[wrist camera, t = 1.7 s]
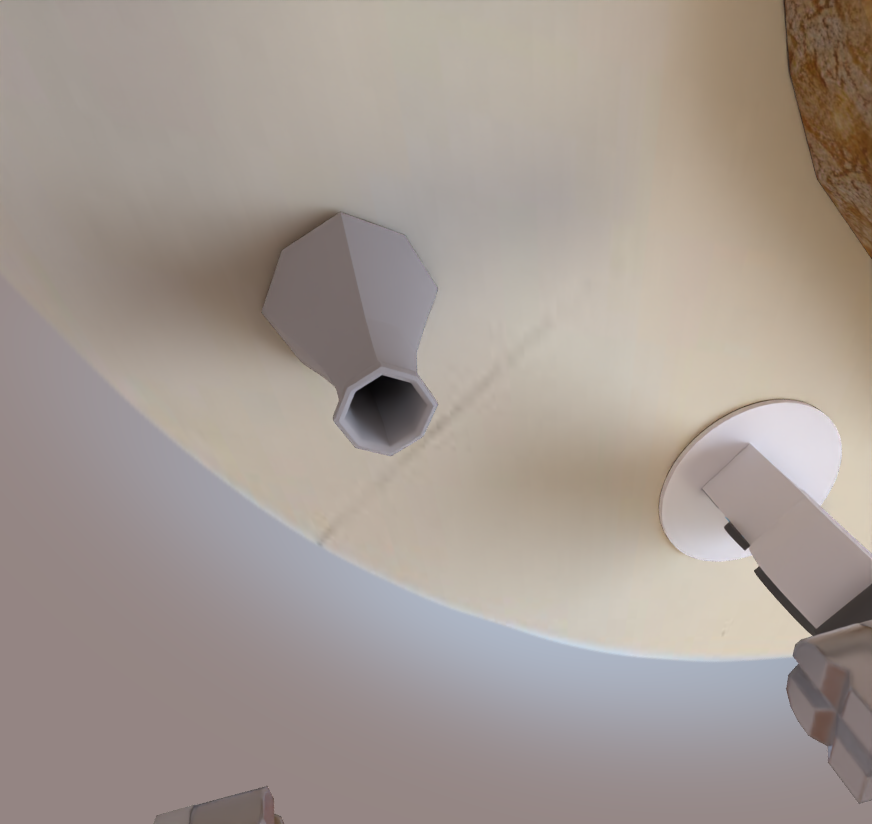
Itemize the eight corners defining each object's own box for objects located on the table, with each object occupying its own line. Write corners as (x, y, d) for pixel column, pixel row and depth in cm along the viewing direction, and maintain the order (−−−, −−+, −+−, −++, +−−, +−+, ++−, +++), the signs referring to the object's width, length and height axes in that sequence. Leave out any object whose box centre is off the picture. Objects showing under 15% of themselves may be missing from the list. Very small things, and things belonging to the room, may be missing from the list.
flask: (363, 398, 34) (399, 535, 26) (230, 314, 31) (223, 439, 22) (464, 282, 32) (539, 389, 24) (335, 177, 29) (370, 259, 21)
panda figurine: (614, 503, 41) (773, 735, 29) (767, 356, 38) (1020, 542, 26) (728, 582, 47) (903, 804, 34) (870, 460, 44) (1118, 653, 31)
